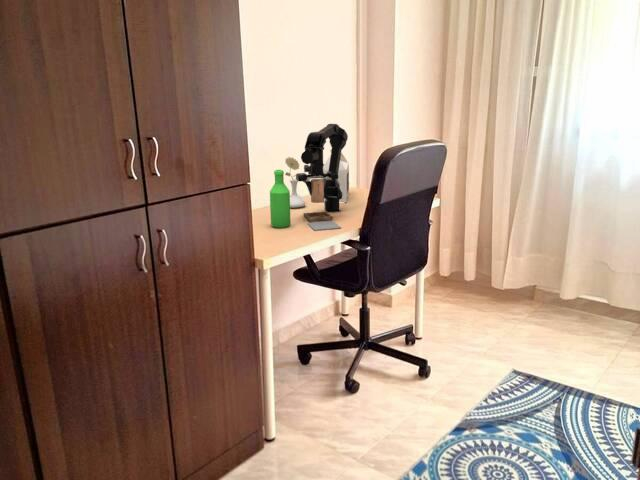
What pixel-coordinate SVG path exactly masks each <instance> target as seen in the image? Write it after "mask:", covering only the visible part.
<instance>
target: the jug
mask: <svg viewBox="0 0 640 480" xmlns="http://www.w3.org/2000/svg"><path fill="white" fill-rule="evenodd" d="M310 181H311V190H312V194H311V195H310V202H311V203H314V204H315V203H316V204H318V203H319V204H320V203H322V202H324V180H323V179H321V178H313V179H310ZM322 204H323V203H322Z"/></svg>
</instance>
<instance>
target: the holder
mask: <svg viewBox="0 0 640 480" xmlns="http://www.w3.org/2000/svg"><path fill="white" fill-rule="evenodd" d="M303 218H304V219H305V220H306V221H307V223H313V222H324V221H334V220H333V215H331V214H330V212H327V211H326V210H324V211H314V212H303Z"/></svg>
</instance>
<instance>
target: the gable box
mask: <svg viewBox="0 0 640 480" xmlns="http://www.w3.org/2000/svg"><path fill="white" fill-rule="evenodd" d="M329 151H330V152H331V151H332V148H331V149H330V150H329ZM330 157H331V154H330V155H329V156H328V157H327V159H326V161H325V163H323V164H324V166H323V173H324V174H327V172H328V171H329V164H330ZM320 179H323V178H320ZM337 180H338V182H339V184H340V190H341V192H342V199H339V202H346V203H347V202H348V199H349V196H348V195H350V163H349V162H348V160H347V158H346V157H345V156H344V154H343V153H342V152H341V157H340V164H339V171H338V179H337ZM347 198H348V199H347ZM324 201H325V198H324ZM322 204H324V202H322Z"/></svg>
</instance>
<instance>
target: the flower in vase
mask: <svg viewBox="0 0 640 480" xmlns="http://www.w3.org/2000/svg"><path fill="white" fill-rule="evenodd" d="M285 164H286V166H287V167H288V168H289V171H291V169H292V170H293V171H296V170H299V169H300V163H299V162H298V160H297V159H295V158H294V157H291V156H287V157H286V158H285ZM289 171H287V172H285V173H284V176H288V177H291V178H290V179H288V181H289V183H290V185H291V193H290V209H292V208H294V209H297V208H301V207H304V206H305V205H306V204H307V202H306V200H304V199H303V198H302V197H301V196H300V195H298V192H297V185H298V182H299V181H298V180H296V178H294V177H296V174H294V175H293V176H292V174H291V172H289Z"/></svg>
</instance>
